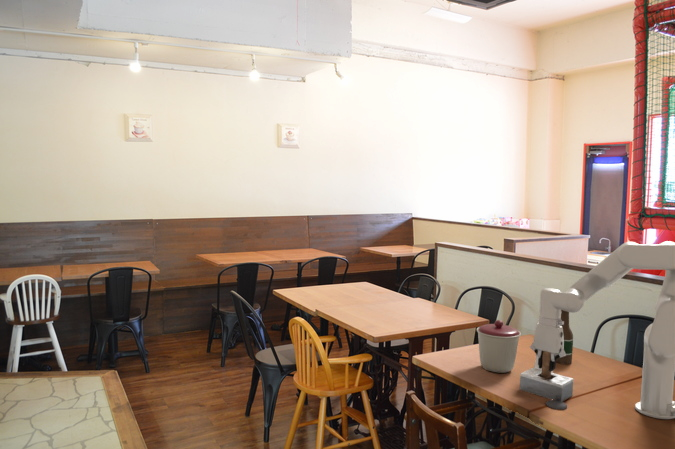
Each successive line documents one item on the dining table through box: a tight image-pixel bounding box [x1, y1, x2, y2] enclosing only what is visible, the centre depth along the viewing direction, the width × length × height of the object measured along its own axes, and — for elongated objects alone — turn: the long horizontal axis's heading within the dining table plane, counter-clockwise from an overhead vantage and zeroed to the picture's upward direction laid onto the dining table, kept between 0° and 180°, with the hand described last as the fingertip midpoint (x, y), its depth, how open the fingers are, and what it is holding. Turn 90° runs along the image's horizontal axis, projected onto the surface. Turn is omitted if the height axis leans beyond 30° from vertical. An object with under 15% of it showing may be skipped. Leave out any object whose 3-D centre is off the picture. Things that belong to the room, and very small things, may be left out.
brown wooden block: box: [541, 351, 551, 380], centre depth 204 cm, size 3×3×14 cm
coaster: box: [545, 399, 568, 411], centre depth 193 cm, size 7×7×1 cm
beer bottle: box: [556, 310, 574, 366], centre depth 241 cm, size 8×8×24 cm
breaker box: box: [519, 367, 574, 402], centre depth 205 cm, size 16×10×6 cm, turn 45°
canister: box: [476, 319, 522, 374], centre depth 230 cm, size 18×18×21 cm
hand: (546, 368), depth 205 cm, fingers closed on brown wooden block, 3 cm apart
